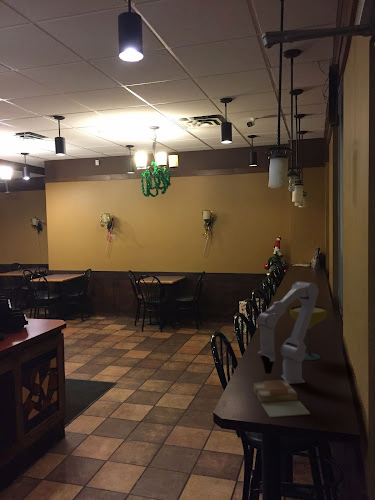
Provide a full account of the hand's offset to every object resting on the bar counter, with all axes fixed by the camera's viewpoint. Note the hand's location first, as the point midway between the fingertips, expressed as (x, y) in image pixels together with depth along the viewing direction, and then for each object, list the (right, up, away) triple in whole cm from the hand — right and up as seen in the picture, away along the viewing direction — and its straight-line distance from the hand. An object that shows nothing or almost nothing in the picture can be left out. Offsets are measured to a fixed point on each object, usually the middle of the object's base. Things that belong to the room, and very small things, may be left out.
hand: (268, 373), depth 175 cm
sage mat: (+2, -8, -20) cm, 22 cm away
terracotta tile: (+1, -4, -9) cm, 10 cm away
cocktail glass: (+29, -3, +38) cm, 48 cm away
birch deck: (+1, -7, -8) cm, 10 cm away
